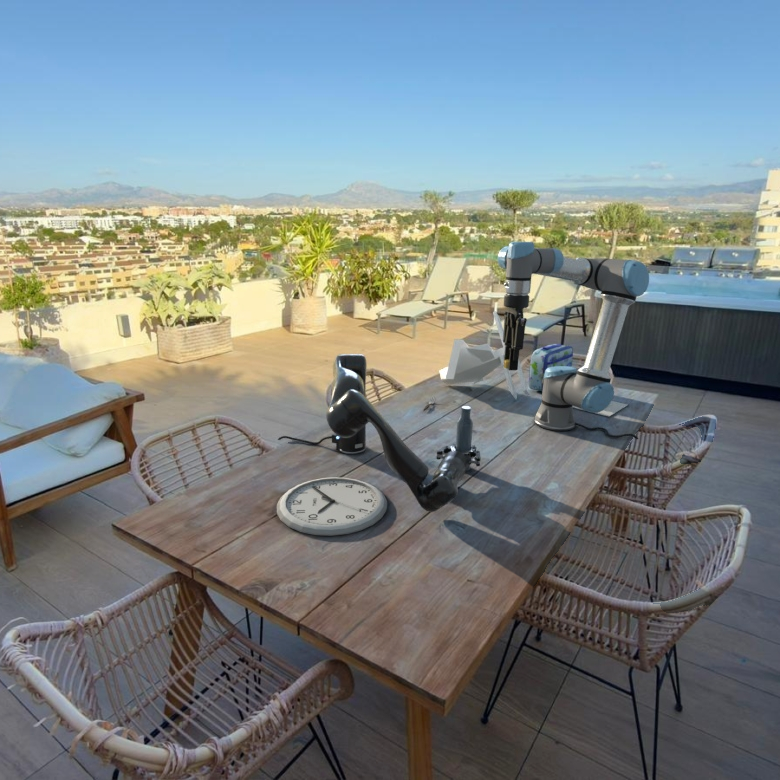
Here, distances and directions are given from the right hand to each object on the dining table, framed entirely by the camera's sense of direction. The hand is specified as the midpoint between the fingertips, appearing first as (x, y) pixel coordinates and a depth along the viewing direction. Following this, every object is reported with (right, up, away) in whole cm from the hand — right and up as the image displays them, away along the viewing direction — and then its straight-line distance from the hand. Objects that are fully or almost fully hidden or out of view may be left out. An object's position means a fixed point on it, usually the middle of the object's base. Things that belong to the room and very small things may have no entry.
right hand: (510, 367), depth 167 cm
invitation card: (+53, -14, +60) cm, 81 cm away
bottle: (-15, -32, 0) cm, 35 cm away
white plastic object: (+3, -8, +77) cm, 77 cm away
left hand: (-14, -25, 0) cm, 29 cm away
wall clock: (-54, -39, -24) cm, 71 cm away
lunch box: (+38, -6, +84) cm, 93 cm away
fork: (-22, -14, +56) cm, 62 cm away
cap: (0, +2, -1) cm, 2 cm away
